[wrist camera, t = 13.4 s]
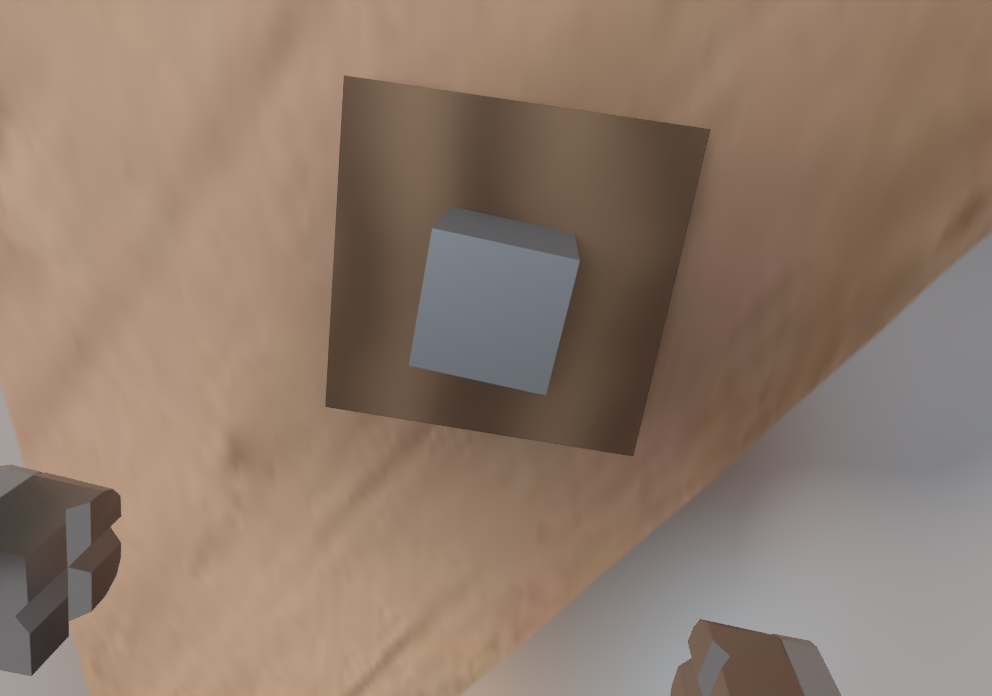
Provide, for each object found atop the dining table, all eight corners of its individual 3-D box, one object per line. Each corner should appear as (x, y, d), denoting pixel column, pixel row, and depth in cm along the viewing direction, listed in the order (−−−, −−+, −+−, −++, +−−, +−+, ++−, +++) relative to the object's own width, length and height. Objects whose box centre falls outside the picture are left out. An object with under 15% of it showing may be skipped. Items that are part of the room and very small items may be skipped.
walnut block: (685, 126, 30) (710, 129, 25) (622, 409, 35) (633, 456, 30) (376, 81, 30) (343, 75, 26) (355, 366, 35) (325, 406, 30)
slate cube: (574, 233, 27) (579, 260, 22) (546, 348, 29) (545, 395, 24) (452, 206, 27) (432, 228, 22) (431, 322, 29) (408, 365, 24)
